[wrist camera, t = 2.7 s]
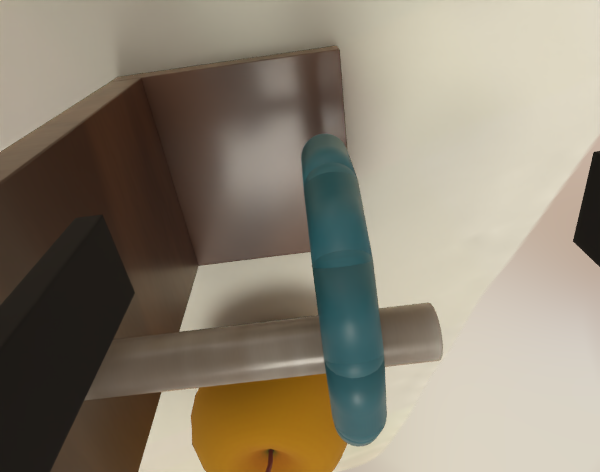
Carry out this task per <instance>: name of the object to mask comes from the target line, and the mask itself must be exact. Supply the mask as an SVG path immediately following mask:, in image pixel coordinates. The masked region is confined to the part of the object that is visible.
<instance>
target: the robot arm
mask: <svg viewBox="0 0 600 472" xmlns="http://www.w3.org/2000/svg"><path fill="white" fill-rule="evenodd" d="M573 242H574V243H576V245H577V246H579V247H580V248H581V249H582V250H583V251H584V252H585V253H586V254H587V255H588V256H589V257H590V258H591V259H592V260H593V261H594V262H595V263H596V264H597V265H599V267H600V151H597V152H594V153H593V157H592V162H591V166H590V170H589V175H588V179H587V184H586V188H585V192H584V196H583V201H582V205H581V209H580V213H579V218H578V222H577V226H576V231H575V235H574V239H573ZM134 294H135V291H134V289H133V286H132V284H131V282H130V279H129V277H128V274H127V272H126V269H125V267H124V265H123V262H122V260H121V257H120V255H119V253H118V250H117V248H116V245H115V243H114V241H113V238H112V236H111V233H110V231H109V229H108V226H107V224H106V221H105V219H104V217H103V214H102V215H94V216H86V217H78V218H75V219H74V220H73V221H72V223H71V224H70V225H69V226H68V227H67V228H66V230H65V231H64V232H63V233H62V234H61V235H60V237H59V238H58V239H57V240H56V241H55V242H54V243H53V245H52V246H51V247H50V248H49V249H48V250H47V252H46V253H45V254H44V255H43V256H42V257H41V259H40V260H39V261H38V262H37V263H36V264H35V266H34V267H33V268H32V269H31V270H30V271H29V273H28V274H27V275H26V276H25V277H24V278H23V280H22V281H21V282H20V283H19V284H18V285H17V287H16V288H15V289H14V290H13V291H12V292H11V294H10V295H9V296H8V297H7V298H6V299H5V300H4V302H3V303H2V304H1V305H0V472H50V471H51V469H52V467H53V465H54V463H55V461H56V458H57V456H58V454H59V452H60V450H61V448H62V446H63V444H64V442H65V440H66V437H67V435H68V433H69V431H70V429H71V427H72V425H73V423H74V421H75V418H76V416H77V414H78V412H79V410H80V408H81V406H82V404H83V402H84V400H85V397H86V395H87V393H88V391H89V389H90V387H91V385H92V383H93V381H94V379H95V376H96V374H97V372H98V370H99V368H100V366H101V364H102V362H103V360H104V357H105V355H106V353H107V351H108V349H109V347H110V345H111V343H112V341H113V339H114V336H115V334H116V332H117V330H118V328H119V326H120V324H121V322H122V320H123V318H124V315H125V313H126V311H127V309H128V307H129V305H130V303H131V301H132V299H133V296H134Z"/></svg>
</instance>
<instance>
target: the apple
mask: <svg viewBox="0 0 600 472" xmlns="http://www.w3.org/2000/svg"><path fill="white" fill-rule="evenodd" d="M191 423H192V445H193V447H194V449H195V451H196V453H197V455H198V457H199V460H200V462H201V464H202V466H203V468H204V470H205V471H206V472H332V471H333V470H334V469H335V467H336V466H337V464H338V462H339V460H340V459H341V457H342V454H343V452H344V450H345V448H346V445H347V443H346V442H345V441H344V440H342V439H341V437H340V436H339V435H338V433H337V431H336V428H335V425H334V422H333V418H332V411H331V404H330V397H329V390H328V383H327V376H326V373H325V374H316V375H308V376H299V377H290V378H281V379H272V380H263V381H254V382H245V383H236V384H227V385H218V386H209V387H200V388H199V390H198V392H197V393H196V395H195V400H194V405H193V409H192V414H191Z"/></svg>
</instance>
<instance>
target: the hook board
mask: <svg viewBox="0 0 600 472" xmlns="http://www.w3.org/2000/svg"><path fill="white" fill-rule="evenodd" d="M319 134H331V135H334V136H336V137H338V138H339V139H340V140H341V141H342V142H343V143H344V144H345V146H346V148H347V141H346V128H345V114H344V101H343V88H342V75H341V62H340V50H339V48H338V47H337V46H330V47H323V48H316V49H309V50H302V51H295V52H288V53H281V54H274V55H267V56H260V57H253V58H246V59H239V60H232V61H225V62H219V63H212V64H205V65H198V66H191V67H184V68H177V69H170V70H163V71H156V72H149V73H142V74H135V75H128V76H121V77H117V78H115V79H114V80H112V81H111V82H109V83H108V84H106V85H105V86H103V87H101V88H100V89H98V90H97V91H95V92H94V93H92V94H90V95H89V96H87V97H86V98H84V99H83V100H81V101H80V102H78V103H76V104H75V105H73V106H72V107H70V108H69V109H67V110H65V111H64V112H62V113H61V114H59V115H58V116H56V117H54V118H53V119H51V120H50V121H48V122H47V123H45V124H43V125H42V126H40V127H39V128H37V129H36V130H34V131H33V132H31V133H29V134H28V135H26V136H25V137H23V138H22V139H20V140H18V141H17V142H15V143H14V144H12V145H11V146H9V147H7V148H6V149H4V150H3V151H1V152H0V305H1V304H2V303H3V302H4V300H5V299H6V298H7V297H8V296H9V295H10V294H11V292H12V291H13V290H14V289H15V288H16V287H17V285H18V284H19V283H20V282H21V281H22V280H23V278H24V277H25V276H26V275H27V274H28V273H29V271H30V270H31V269H32V268H33V267H34V266H35V264H36V263H37V262H38V261H39V260H40V259H41V257H42V256H43V255H44V254H45V253H46V252H47V250H48V249H49V248H50V247H51V246H52V245H53V243H54V242H55V241H56V240H57V239H58V238H59V237H60V235H61V234H62V233H63V232H64V231H65V230H66V228H67V227H68V226H69V225H70V224H71V223H72V221H73V220H74V219H75V218H78V217H86V216H94V215H102V214H103V217H104V219H105V221H106V224H107V226H108V229H109V231H110V233H111V236H112V238H113V241H114V243H115V245H116V248H117V250H118V253H119V255H120V257H121V260H122V262H123V265H124V267H125V269H126V272H127V274H128V277H129V279H130V282H131V284H132V286H133V289H134V291H135V294H134V296H133V299H132V301H131V303H130V305H129V307H128V309H127V311H126V313H125V315H124V318H123V320H122V322H121V324H120V326H119V328H118V330H117V332H116V334H115V336H114V339H113V341H112V343H111V345H110V347H109V349H108V351H107V353H106V355H105V357H104V360H103V362H102V364H101V366H100V368H99V370H98V372H97V374H96V376H95V379H94V381H93V383H92V385H91V387H90V389H89V391H88V393H87V395H86V397H85V400H84V402H83V404H82V406H81V408H80V410H79V412H78V414H77V416H76V418H75V421H74V423H73V425H72V427H71V429H70V431H69V433H68V435H67V437H66V440H65V442H64V444H63V446H62V448H61V450H60V452H59V454H58V456H57V458H56V461H55V463H54V465H53V467H52V469H51V471H50V472H138V470H139V467H140V463H141V460H142V457H143V453H144V450H145V446H146V443H147V439H148V436H149V433H150V429H151V426H152V422H153V419H154V416H155V412H156V409H157V405H158V402H159V399H160V395H161V392H165V391H173V390H182V389H191V388H200V387H209V386H218V385H227V384H236V383H245V382H254V381H263V380H272V379H281V378H290V377H299V376H308V375H316V374H325V373H326V369H325V362H324V355H323V347H322V339H321V331H320V323H319V316H311V317H302V318H294V319H285V320H277V321H268V322H260V323H251V324H243V325H234V326H226V327H217V328H209V329H200V330H192V331H183V332H179V330H180V327H181V324H182V320H183V317H184V313H185V310H186V307H187V303H188V300H189V296H190V293H191V290H192V286H193V283H194V279H195V276H196V273H197V269H198V266H200V265H208V264H216V263H224V262H232V261H240V260H248V259H256V258H264V257H272V256H280V255H288V254H296V253H304V252H311V250H310V241H309V232H308V224H307V215H306V206H305V197H304V187H303V175H302V163H301V154H302V150H303V147H304V146H305V144H306V143H307V142H308V141H309V139H311V138H312V137H314V136H316V135H319ZM379 315H380V323H381V331H382V339H383V347H384V361H385V367H388V366H397V365H406V364H415V363H424V362H433V361H439V360H441V358H442V353H443V343H442V334H441V329H440V324H439V320H438V317H437V314H436V311H435V309H434V307H433V306H432V304H431V303H421V304H413V305H404V306H396V307H387V308H379Z"/></svg>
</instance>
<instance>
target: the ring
mask: <svg viewBox="0 0 600 472" xmlns="http://www.w3.org/2000/svg"><path fill="white" fill-rule="evenodd" d="M301 163H302V175H303V187H304V197H305V206H306V215H307V224H308V232H309V241H310V250H311V259H312V268H313V276H314V284H315V292H316V299H317V307H318V315H319V323H320V331H321V339H322V347H323V355H324V362H325V369H326V376H327V383H328V390H329V397H330V404H331V411H332V418H333V422H334V425H335V428H336V431H337V433H338V435H339V436H340V437H341V439H342V440H344V441H345V442H346V443H348V444H350V445H353V446H365V445H368V444H370V443H371V442H373V441H374V440H375V439H376V437H377V436H378V435H379V434H380V432H381V431H382V429H383V428H384V425H385V422H386V416H387V410H386V385H385V361H384V347H383V339H382V331H381V323H380V315H379V307H378V298H377V290H376V282H375V274H374V266H373V258H372V253H371V248H370V242H369V237H368V232H367V226H366V221H365V216H364V210H363V205H362V200H361V195H360V189H359V184H358V180H357V177H356V174H355V171H354V168H353V165H352V162H351V159H350V156H349V154H348V151H347V148H346V146H345V144H344V143H343V142H342V141H341V140H340V139H339V138H338V137H336V136H334V135H331V134H319V135H316V136H314V137H312V138H311V139H309V141H308V142H307V143H306V144H305V146H304V147H303V150H302V154H301Z"/></svg>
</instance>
